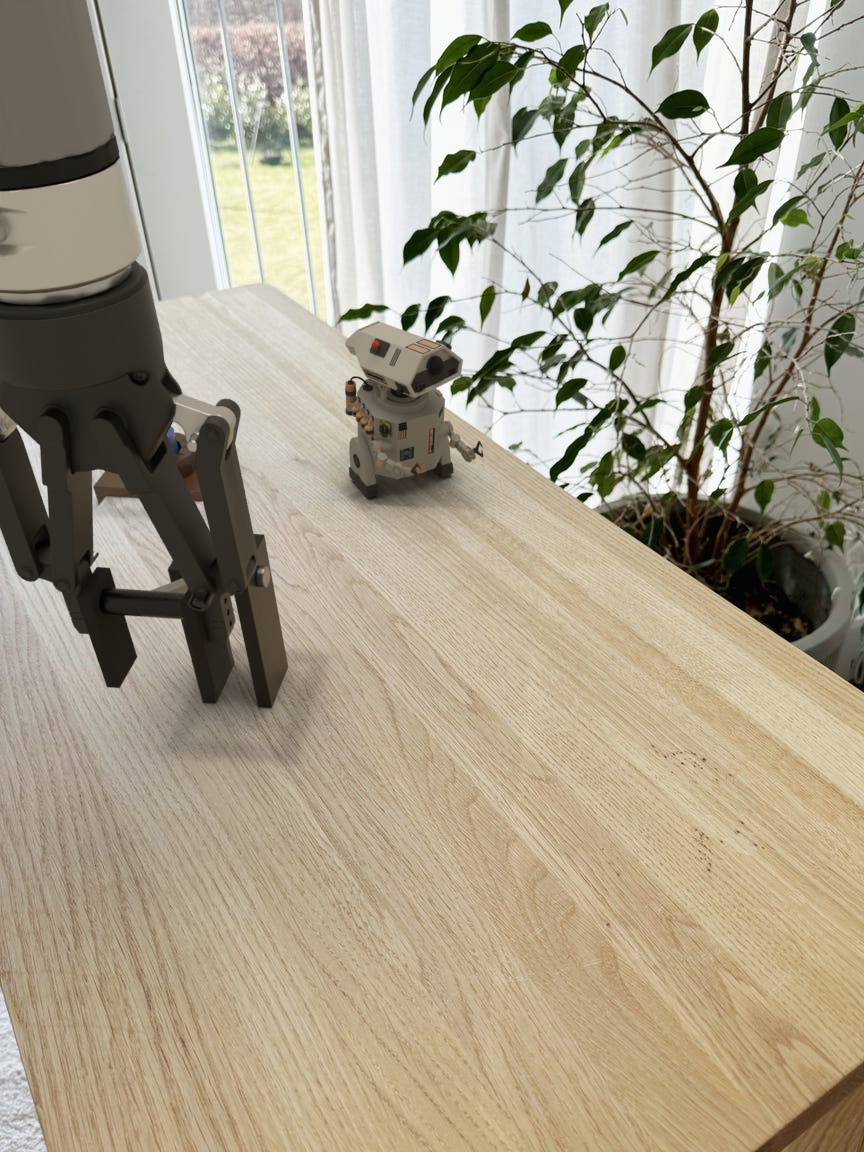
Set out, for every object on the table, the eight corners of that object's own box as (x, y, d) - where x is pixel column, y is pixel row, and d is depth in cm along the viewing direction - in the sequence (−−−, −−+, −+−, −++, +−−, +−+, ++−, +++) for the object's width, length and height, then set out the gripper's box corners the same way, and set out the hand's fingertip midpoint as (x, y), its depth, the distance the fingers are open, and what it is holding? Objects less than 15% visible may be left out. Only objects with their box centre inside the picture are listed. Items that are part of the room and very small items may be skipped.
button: (132, 462, 91) (126, 441, 89) (147, 442, 93) (141, 422, 92) (170, 464, 90) (165, 443, 89) (184, 444, 93) (179, 424, 92)
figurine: (393, 532, 88) (381, 373, 78) (343, 473, 96) (326, 320, 86) (484, 504, 91) (483, 348, 82) (429, 449, 99) (421, 300, 89)
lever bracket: (284, 751, 68) (255, 603, 60) (171, 742, 69) (126, 595, 61) (319, 655, 76) (298, 511, 67) (217, 648, 76) (182, 505, 68)
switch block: (98, 507, 92) (87, 469, 89) (132, 462, 98) (122, 425, 95) (204, 513, 91) (196, 474, 88) (231, 467, 97) (224, 430, 94)
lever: (188, 631, 54) (188, 587, 53) (99, 625, 54) (97, 581, 54) (266, 591, 66) (266, 555, 66) (193, 586, 67) (192, 550, 66)
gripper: (-198, 298, 41) (-10, 709, 56) (232, 314, 39) (306, 733, 54) (-96, 235, 46) (49, 623, 62) (283, 247, 45) (337, 643, 60)
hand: (169, 674), depth 58 cm, fingers closed on lever, 5 cm apart
